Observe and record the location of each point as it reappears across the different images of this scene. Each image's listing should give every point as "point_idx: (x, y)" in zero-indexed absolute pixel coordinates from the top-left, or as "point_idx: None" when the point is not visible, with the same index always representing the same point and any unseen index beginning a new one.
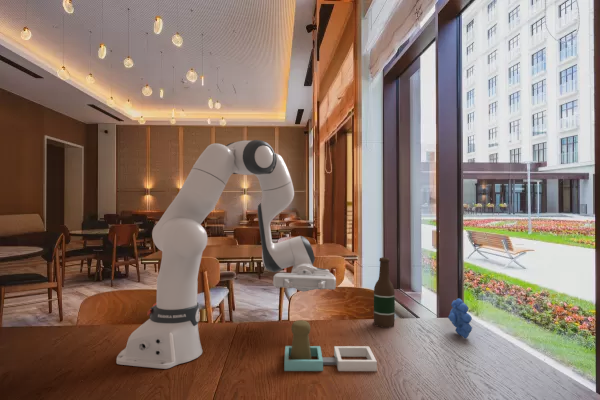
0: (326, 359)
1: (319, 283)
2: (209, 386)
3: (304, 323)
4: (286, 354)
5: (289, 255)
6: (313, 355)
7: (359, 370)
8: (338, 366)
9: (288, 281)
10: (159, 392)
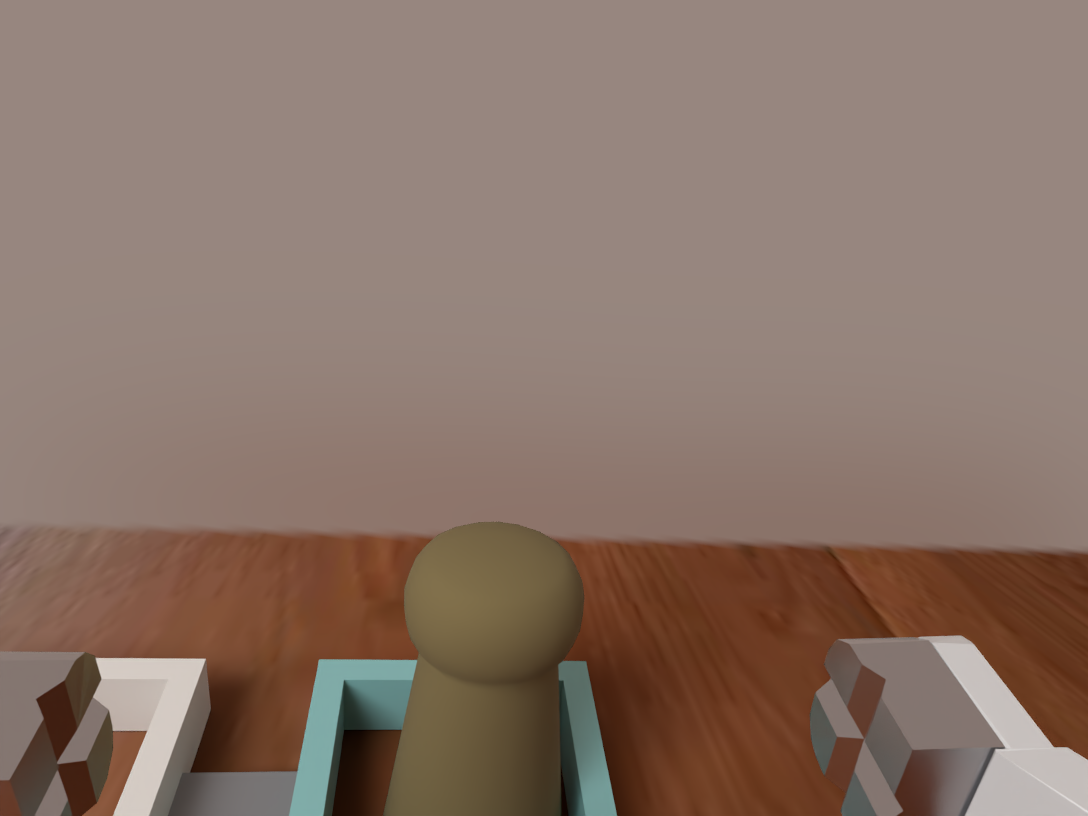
0: (254, 814)
1: (34, 658)
2: (891, 588)
3: (465, 532)
4: (591, 749)
5: None
6: None
7: None
8: (208, 685)
9: (997, 704)
10: (1046, 559)
